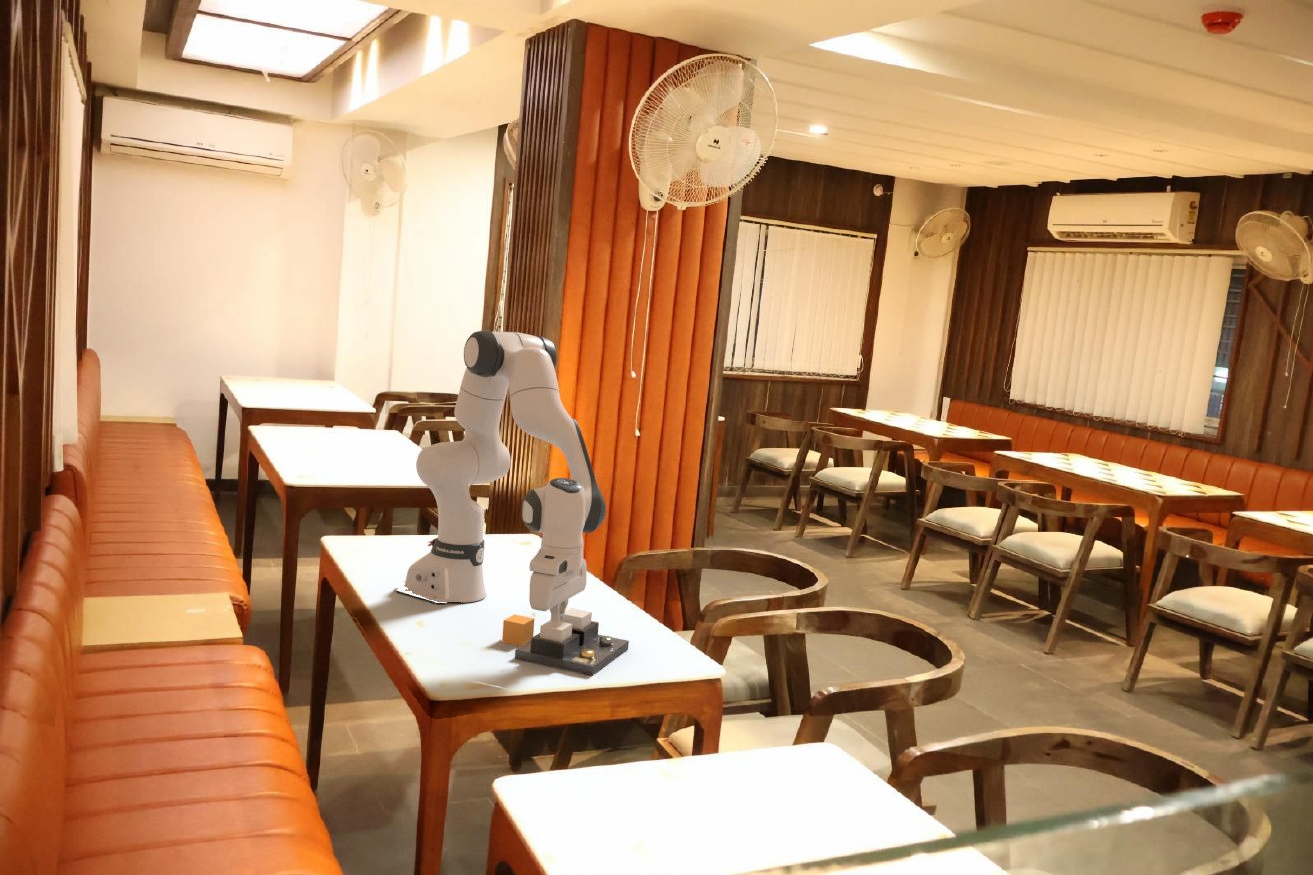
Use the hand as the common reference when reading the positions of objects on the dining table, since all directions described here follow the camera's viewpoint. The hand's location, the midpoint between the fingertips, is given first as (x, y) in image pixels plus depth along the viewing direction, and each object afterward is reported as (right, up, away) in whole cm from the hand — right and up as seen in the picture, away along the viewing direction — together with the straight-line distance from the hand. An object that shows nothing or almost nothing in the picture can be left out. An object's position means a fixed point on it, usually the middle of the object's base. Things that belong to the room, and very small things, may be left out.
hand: (557, 620), depth 224 cm
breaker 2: (+3, -3, +10) cm, 11 cm away
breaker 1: (0, -4, +1) cm, 4 cm away
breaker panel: (+3, -8, +5) cm, 10 cm away
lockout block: (-10, -6, +11) cm, 16 cm away
